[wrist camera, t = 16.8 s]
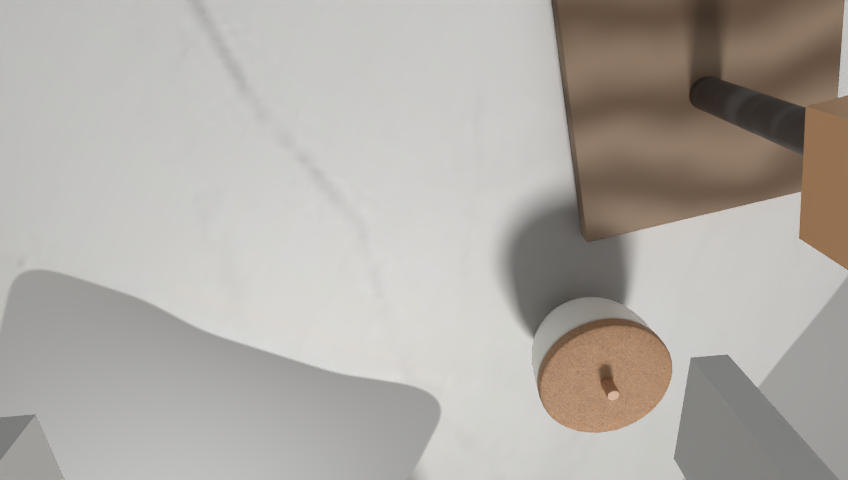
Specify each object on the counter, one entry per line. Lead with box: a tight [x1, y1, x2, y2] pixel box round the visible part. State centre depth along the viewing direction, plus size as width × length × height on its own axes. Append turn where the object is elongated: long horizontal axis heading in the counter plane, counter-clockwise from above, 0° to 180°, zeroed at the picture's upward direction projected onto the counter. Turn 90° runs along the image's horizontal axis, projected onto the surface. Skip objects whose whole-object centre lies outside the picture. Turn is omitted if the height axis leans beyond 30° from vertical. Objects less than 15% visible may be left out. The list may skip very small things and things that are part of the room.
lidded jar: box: [532, 297, 672, 433], centre depth 49 cm, size 11×11×9 cm
